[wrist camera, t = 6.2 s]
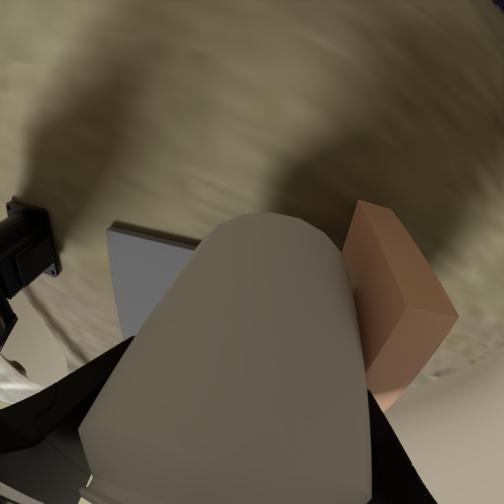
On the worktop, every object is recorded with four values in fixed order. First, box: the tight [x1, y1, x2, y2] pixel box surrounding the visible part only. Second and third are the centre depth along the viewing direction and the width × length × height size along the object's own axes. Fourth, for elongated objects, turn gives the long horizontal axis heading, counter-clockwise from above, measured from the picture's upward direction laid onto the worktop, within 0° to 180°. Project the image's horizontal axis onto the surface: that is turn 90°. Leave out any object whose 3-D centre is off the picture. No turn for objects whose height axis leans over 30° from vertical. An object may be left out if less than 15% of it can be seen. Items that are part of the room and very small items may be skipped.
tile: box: [342, 200, 459, 413], centre depth 13 cm, size 2×8×9 cm, turn 171°
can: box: [78, 212, 372, 504], centre depth 9 cm, size 8×8×12 cm
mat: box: [106, 226, 197, 340], centre depth 20 cm, size 12×12×1 cm
